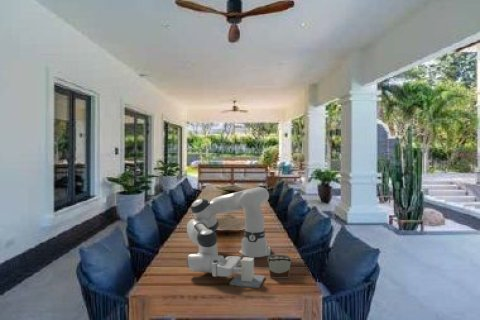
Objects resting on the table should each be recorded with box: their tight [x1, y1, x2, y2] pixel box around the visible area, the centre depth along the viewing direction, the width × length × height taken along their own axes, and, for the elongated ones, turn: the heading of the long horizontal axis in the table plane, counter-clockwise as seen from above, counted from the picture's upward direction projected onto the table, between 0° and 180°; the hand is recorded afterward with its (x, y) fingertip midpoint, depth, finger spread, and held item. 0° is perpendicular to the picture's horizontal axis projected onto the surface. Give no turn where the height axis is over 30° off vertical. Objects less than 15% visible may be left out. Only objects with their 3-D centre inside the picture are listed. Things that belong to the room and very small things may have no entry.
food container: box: [267, 254, 293, 279], centre depth 208 cm, size 12×6×10 cm, turn 92°
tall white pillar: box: [240, 256, 255, 282], centre depth 200 cm, size 5×5×10 cm
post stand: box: [229, 272, 266, 289], centre depth 200 cm, size 14×14×8 cm
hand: (245, 267), depth 200 cm, fingers open, 8 cm apart
